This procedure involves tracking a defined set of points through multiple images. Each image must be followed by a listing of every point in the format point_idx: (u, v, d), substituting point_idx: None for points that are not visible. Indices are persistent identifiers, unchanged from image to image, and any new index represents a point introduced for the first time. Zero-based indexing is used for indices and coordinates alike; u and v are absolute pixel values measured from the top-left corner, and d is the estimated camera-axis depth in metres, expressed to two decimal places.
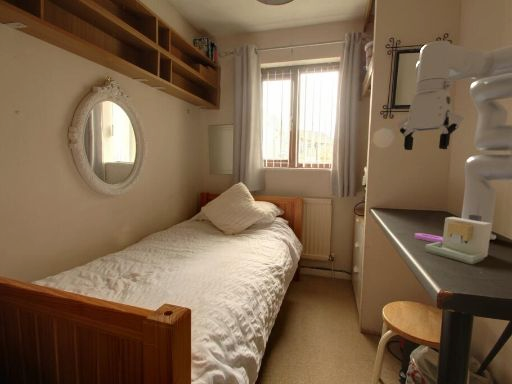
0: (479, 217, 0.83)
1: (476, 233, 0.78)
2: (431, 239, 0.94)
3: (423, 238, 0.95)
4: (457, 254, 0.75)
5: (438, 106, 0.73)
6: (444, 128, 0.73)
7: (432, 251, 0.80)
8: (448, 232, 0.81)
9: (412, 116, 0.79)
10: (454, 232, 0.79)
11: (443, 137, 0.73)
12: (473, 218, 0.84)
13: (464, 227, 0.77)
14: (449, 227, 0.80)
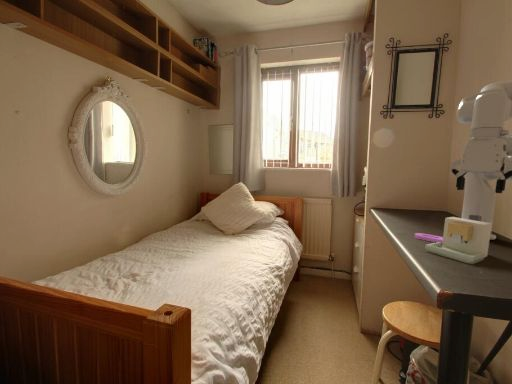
0: (479, 217, 0.83)
1: (476, 233, 0.78)
2: (431, 239, 0.94)
3: (423, 238, 0.95)
4: (457, 254, 0.75)
5: (495, 153, 0.78)
6: (501, 174, 0.77)
7: (432, 251, 0.80)
8: (448, 232, 0.81)
9: (466, 159, 0.84)
10: (454, 232, 0.79)
11: (500, 182, 0.78)
12: (473, 218, 0.84)
13: (464, 227, 0.77)
14: (449, 227, 0.80)
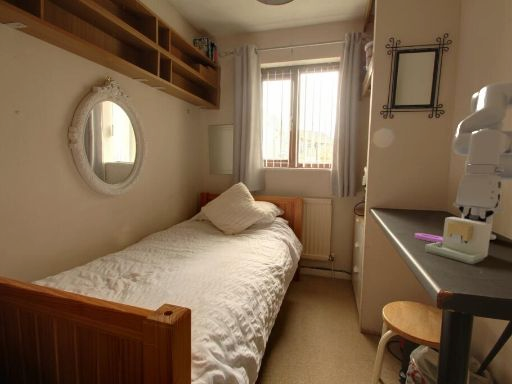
0: (479, 217, 0.83)
1: (476, 233, 0.78)
2: (431, 239, 0.94)
3: (423, 238, 0.95)
4: (457, 254, 0.75)
5: (490, 190, 0.79)
6: (481, 213, 0.82)
7: (432, 251, 0.80)
8: (448, 232, 0.81)
9: (462, 193, 0.85)
10: (454, 232, 0.79)
11: None
12: (473, 218, 0.84)
13: (464, 227, 0.77)
14: (449, 227, 0.80)
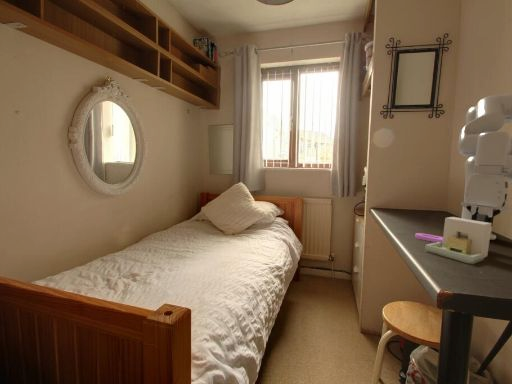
0: (486, 216, 0.86)
1: (476, 233, 0.78)
2: (431, 239, 0.94)
3: (423, 238, 0.95)
4: (457, 254, 0.75)
5: (497, 190, 0.82)
6: (489, 212, 0.85)
7: (432, 251, 0.80)
8: (447, 246, 0.81)
9: (470, 193, 0.88)
10: (453, 246, 0.79)
11: (488, 220, 0.85)
12: (480, 217, 0.86)
13: (463, 241, 0.77)
14: (448, 241, 0.81)
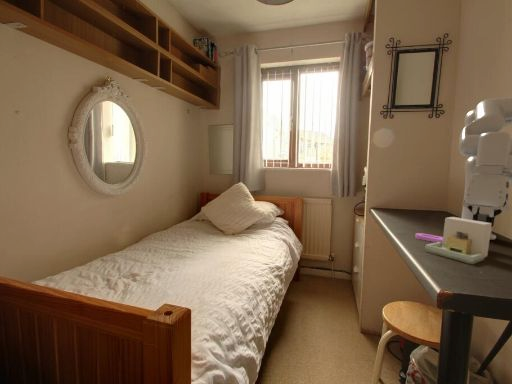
0: (487, 216, 0.86)
1: (476, 233, 0.78)
2: (431, 239, 0.94)
3: (423, 238, 0.95)
4: (457, 254, 0.75)
5: (499, 189, 0.82)
6: (490, 212, 0.85)
7: (432, 251, 0.80)
8: (447, 246, 0.81)
9: (471, 193, 0.88)
10: (453, 246, 0.79)
11: (489, 219, 0.85)
12: (482, 217, 0.87)
13: (463, 241, 0.77)
14: (448, 241, 0.81)
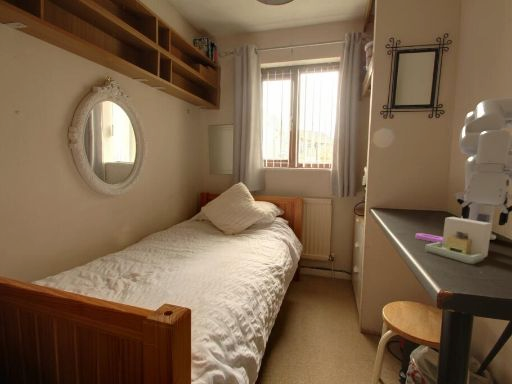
0: (487, 216, 0.86)
1: (476, 233, 0.78)
2: (432, 239, 0.93)
3: (424, 238, 0.95)
4: (457, 254, 0.75)
5: (499, 188, 0.83)
6: (504, 208, 0.82)
7: (432, 251, 0.80)
8: (447, 246, 0.81)
9: (471, 191, 0.89)
10: (453, 246, 0.79)
11: (503, 215, 0.83)
12: (482, 217, 0.87)
13: (463, 241, 0.77)
14: (448, 241, 0.81)
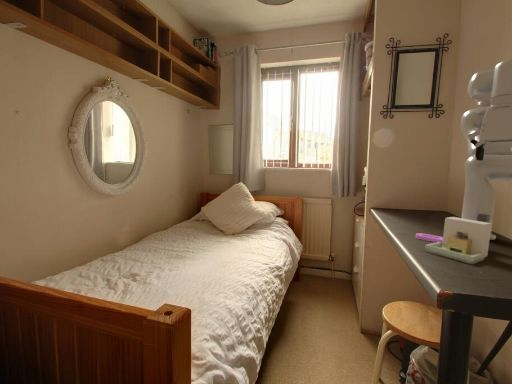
0: (487, 216, 0.86)
1: (476, 233, 0.78)
2: (432, 239, 0.93)
3: (424, 238, 0.95)
4: (457, 254, 0.75)
5: None
6: None
7: (432, 251, 0.80)
8: (447, 246, 0.81)
9: (486, 128, 0.83)
10: (453, 246, 0.79)
11: None
12: (482, 217, 0.87)
13: (463, 241, 0.77)
14: (448, 241, 0.81)
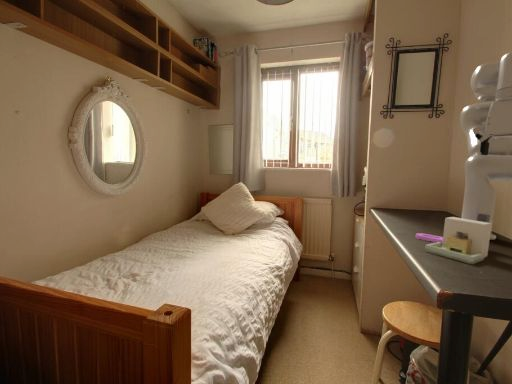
0: (487, 216, 0.86)
1: (476, 233, 0.78)
2: (432, 239, 0.93)
3: (424, 238, 0.95)
4: (457, 254, 0.75)
5: None
6: None
7: (432, 251, 0.80)
8: (447, 246, 0.81)
9: (491, 122, 0.81)
10: (453, 246, 0.79)
11: None
12: (482, 217, 0.87)
13: (463, 241, 0.77)
14: (448, 241, 0.81)
